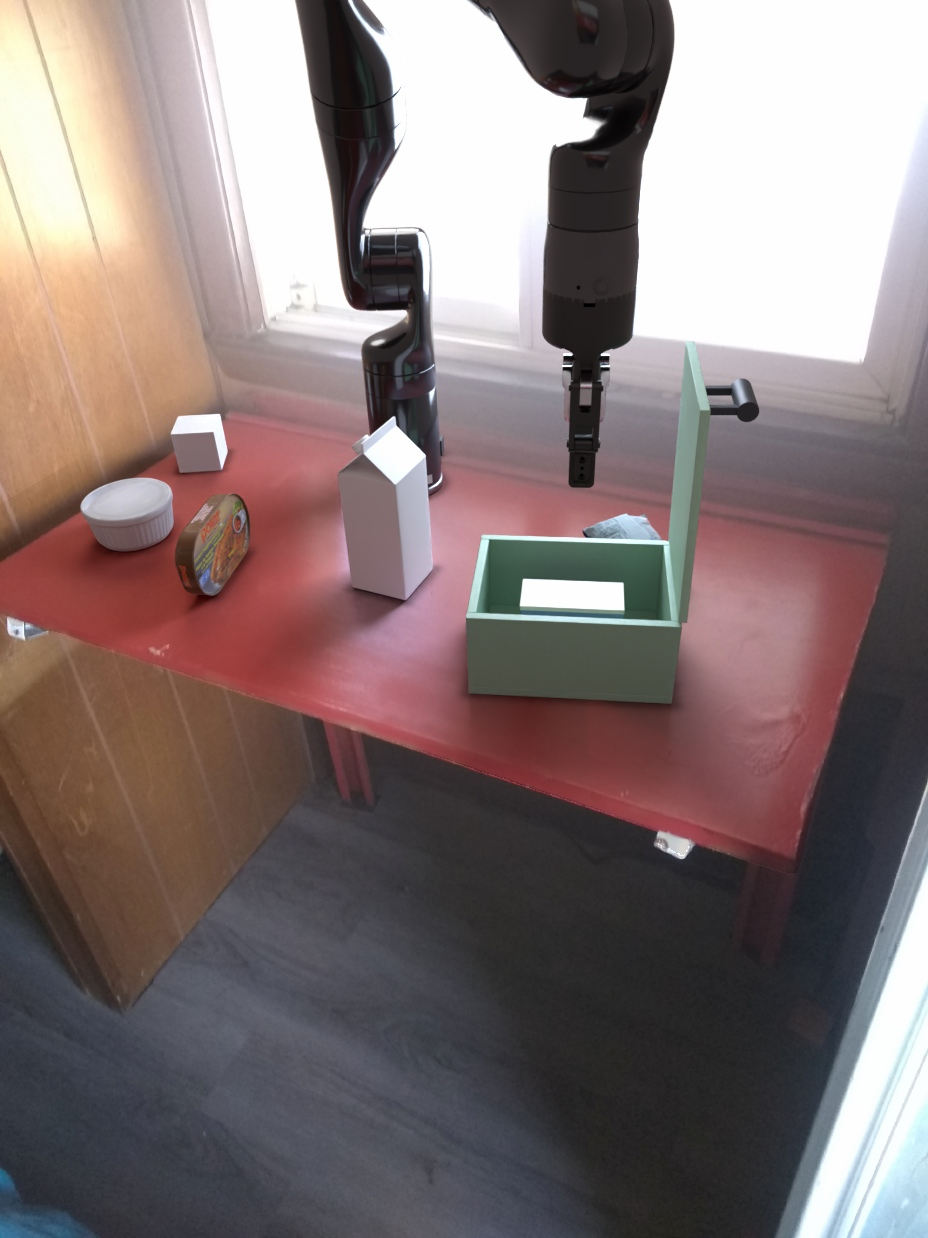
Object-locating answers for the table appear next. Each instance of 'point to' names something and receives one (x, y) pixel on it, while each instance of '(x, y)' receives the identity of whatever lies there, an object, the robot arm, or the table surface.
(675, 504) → the lid
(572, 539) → the box
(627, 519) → the packaged food
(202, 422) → the white cube
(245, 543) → the tin
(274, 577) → the table surface
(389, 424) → the milk carton
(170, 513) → the ramekin
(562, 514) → the table surface
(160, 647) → the table surface
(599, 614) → the snack box
